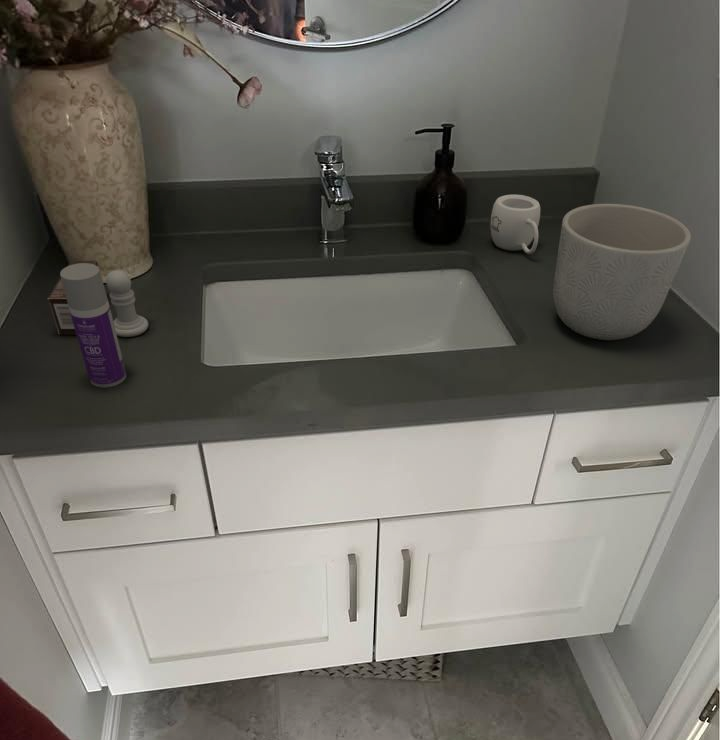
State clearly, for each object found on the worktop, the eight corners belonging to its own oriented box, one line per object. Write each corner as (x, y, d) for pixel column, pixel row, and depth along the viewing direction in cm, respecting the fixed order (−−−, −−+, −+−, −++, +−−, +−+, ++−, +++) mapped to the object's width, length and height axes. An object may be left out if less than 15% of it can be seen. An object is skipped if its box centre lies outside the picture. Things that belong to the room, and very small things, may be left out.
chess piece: (121, 342, 99) (107, 283, 93) (105, 327, 102) (90, 269, 96) (155, 330, 101) (143, 272, 95) (138, 316, 104) (126, 259, 98)
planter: (565, 358, 98) (592, 255, 87) (526, 301, 110) (545, 205, 100) (677, 351, 100) (716, 249, 89) (626, 296, 112) (655, 200, 102)
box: (55, 335, 100) (79, 296, 109) (87, 335, 100) (108, 296, 109) (43, 296, 96) (69, 259, 105) (76, 296, 96) (99, 259, 105)
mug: (478, 238, 128) (484, 195, 123) (518, 233, 130) (526, 190, 125) (511, 266, 120) (519, 220, 114) (553, 259, 122) (563, 214, 117)
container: (92, 390, 90) (61, 283, 80) (87, 372, 93) (56, 266, 83) (129, 383, 91) (103, 276, 81) (123, 365, 94) (97, 260, 84)
